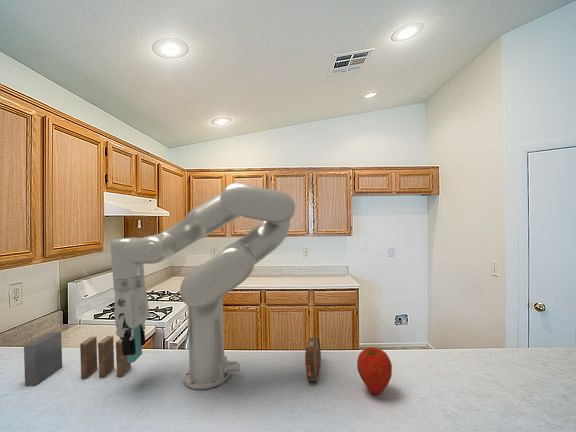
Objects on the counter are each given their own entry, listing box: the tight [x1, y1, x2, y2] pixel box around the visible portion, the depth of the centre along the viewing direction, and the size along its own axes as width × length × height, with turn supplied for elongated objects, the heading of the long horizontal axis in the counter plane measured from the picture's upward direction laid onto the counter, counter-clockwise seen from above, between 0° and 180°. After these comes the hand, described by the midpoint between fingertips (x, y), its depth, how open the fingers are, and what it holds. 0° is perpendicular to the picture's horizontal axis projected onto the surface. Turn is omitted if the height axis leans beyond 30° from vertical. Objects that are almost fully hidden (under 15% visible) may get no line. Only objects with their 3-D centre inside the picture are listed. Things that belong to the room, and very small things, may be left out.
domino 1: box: [79, 336, 98, 380], centre depth 88 cm, size 2×5×10 cm, turn 2°
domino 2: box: [97, 335, 115, 379], centre depth 88 cm, size 2×5×10 cm, turn 2°
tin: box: [304, 336, 322, 382], centre depth 85 cm, size 15×3×8 cm, turn 168°
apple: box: [356, 347, 393, 395], centre depth 75 cm, size 9×8×11 cm
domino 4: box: [125, 325, 143, 364], centre depth 82 cm, size 2×5×10 cm, turn 2°
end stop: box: [23, 331, 63, 387], centre depth 88 cm, size 3×10×11 cm, turn 2°
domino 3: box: [115, 338, 132, 378], centre depth 88 cm, size 2×5×10 cm, turn 2°
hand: (134, 349), depth 82 cm, fingers closed on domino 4, 4 cm apart
